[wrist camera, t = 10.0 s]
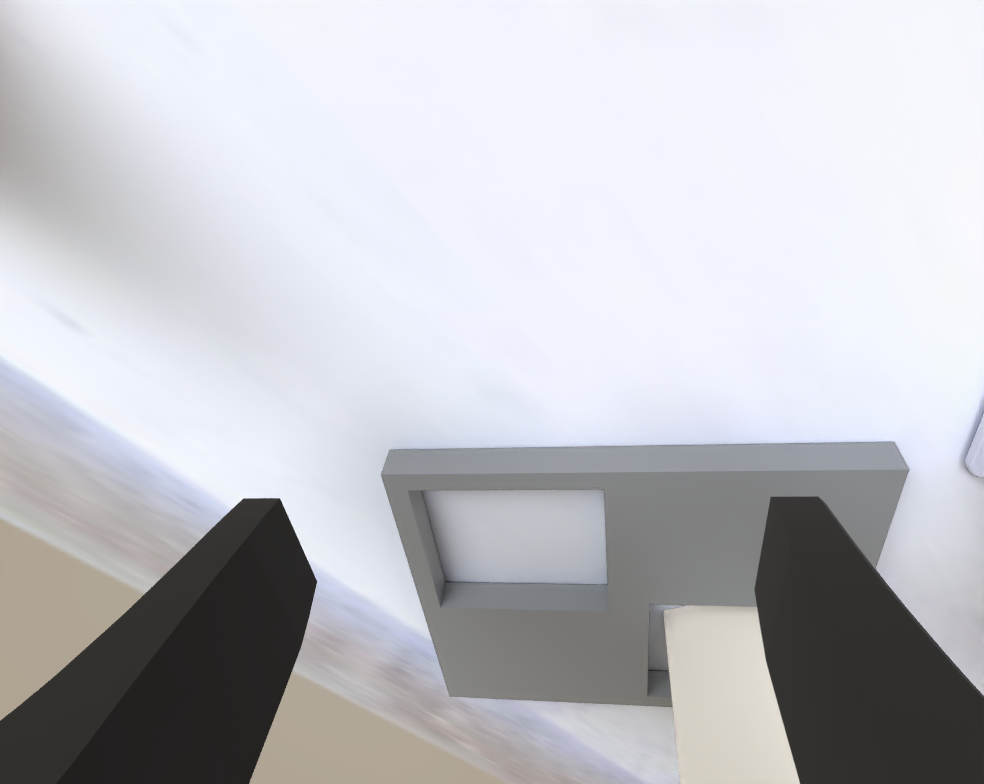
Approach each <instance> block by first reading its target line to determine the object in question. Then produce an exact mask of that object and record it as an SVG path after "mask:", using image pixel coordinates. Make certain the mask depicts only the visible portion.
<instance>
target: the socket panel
mask: <svg viewBox="0 0 984 784" xmlns="http://www.w3.org/2000/svg"><path fill="white" fill-rule="evenodd" d="M908 471H909V468H908V466H907V464H906V463H905V461H904V459H903V457H902V455H901V453H900V451H899V450H898V448H897V446H896V444H895V442H856V443H793V444H731V445H669V446H606V447H544V448H482V449H419V450H389V453H388V456H387V458H386V461H385V464H384V467H383V470H382V473H381V476H382V480H383V483H384V486H385V489H386V493H387V496H388V499H389V502H390V506H391V509H392V512H393V515H394V518H395V522H396V525H397V528H398V531H399V535H400V538H401V541H402V544H403V547H404V551H405V554H406V557H407V560H408V564H409V567H410V570H411V573H412V577H413V580H414V583H415V586H416V589H417V593H418V596H419V599H420V602H421V606H422V609H423V612H424V615H425V619H426V622H427V625H428V628H429V631H430V635H431V638H432V641H433V644H434V648H435V651H436V654H437V657H438V661H439V664H440V667H441V670H442V673H443V677H444V680H445V683H446V686H447V690H448V693H449V696H450V697H469V698H490V699H512V700H533V701H554V702H576V703H597V704H618V705H639V706H661V707H673V705H672V695H671V685H670V675H669V671H648V646H649V607H650V604H652V605H697V606H742V607H757V603H756V597H755V591H754V589H755V583H756V577H757V572H758V566H759V560H760V555H761V549H762V543H763V537H764V532H765V526H766V520H767V515H768V509H769V503H770V498H771V497H812V496H818V497H819V498H821V499H822V500H823V501H824V502H825V503H826V504H827V506H828V507H829V509H830V510H831V511H832V513H833V514H834V515H835V517H836V518H837V519H838V521H839V522H840V524H841V525H842V526H843V528H844V529H845V530H846V532H847V533H848V534H849V536H850V537H851V538H852V540H853V541H854V542H855V544H856V545H857V546H858V547H859V549H860V550H861V551H862V553H863V554H864V555H865V557H866V558H867V559H868V560H869V562H870V563H871V564H872V566H873V567H874V568H875V569H876V566H877V563H878V560H879V557H880V554H881V551H882V548H883V545H884V542H885V539H886V536H887V533H888V530H889V527H890V524H891V522H892V519H893V516H894V513H895V510H896V507H897V504H898V501H899V498H900V495H901V492H902V489H903V486H904V483H905V480H906V477H907V474H908ZM586 489H604V497H605V526H606V554H607V583H608V585H581V584H525V583H469V582H445V578H444V574H443V570H442V567H441V563H440V559H439V555H438V552H437V548H436V544H435V540H434V536H433V533H432V529H431V525H430V521H429V518H428V514H427V510H426V506H425V502H424V499H423V495H422V491H421V490H586Z"/></svg>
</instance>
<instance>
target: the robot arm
mask: <svg viewBox="0 0 984 784" xmlns="http://www.w3.org/2000/svg"><path fill="white" fill-rule="evenodd" d="M965 464H966V466H967V467H968V469H969V470H970V472H971V473H972V474H973V475H975V476H976V477H983V478H984V414H983V417H982V419H981V422H980V424H979V427H978V429H977V432H976V434H975V437H974V439H973V442H972V444H971V447H970V449H969V452H968V454H967V457H966V460H965ZM316 584H317V580H316V578H315V576H314V574H313V571H312V569H311V567H310V565H309V562H308V560H307V558H306V556H305V554H304V551H303V549H302V547H301V545H300V542H299V540H298V538H297V536H296V533H295V531H294V529H293V527H292V524H291V522H290V520H289V518H288V516H287V513H286V511H285V509H284V507H283V504H282V502H281V500H280V498H261V499H243V500H242V501H241V502H239V503H238V504H237V505H236V506H235V507H234V508H233V509H232V510H231V511H230V512H229V513H228V514H227V515H226V516H224V517H223V518H222V519H221V520H220V521H219V522H218V523H217V524H216V525H215V526H214V527H213V528H212V529H211V530H210V531H209V532H208V533H207V534H206V535H205V536H204V537H203V538H202V539H201V540H200V541H199V542H198V543H197V544H196V545H195V546H194V547H193V548H192V549H191V550H190V551H189V552H188V553H187V554H186V555H185V556H184V557H183V558H182V559H181V560H180V561H179V562H178V563H177V564H176V565H175V566H174V567H172V568H171V569H170V570H169V571H168V572H167V573H166V574H165V575H164V576H163V577H162V578H161V579H160V580H159V581H158V582H157V583H156V584H155V585H154V586H153V587H152V588H151V589H150V590H149V591H148V592H147V593H146V594H144V595H143V596H142V597H141V598H140V599H139V600H138V601H137V602H136V603H135V604H134V605H133V606H132V607H131V608H130V609H129V610H128V611H127V612H126V613H125V614H124V615H122V616H121V617H120V618H119V619H118V620H117V621H116V622H115V623H114V624H112V625H111V626H110V627H109V628H108V629H107V630H106V631H105V632H104V633H102V634H101V635H100V636H99V637H98V638H97V639H96V640H95V641H94V642H93V643H91V644H90V645H89V646H88V647H87V648H86V649H85V650H84V651H82V652H81V653H80V654H79V655H78V656H77V657H76V658H75V659H74V660H72V661H71V662H70V663H69V664H68V665H67V666H66V667H65V668H64V669H63V670H61V671H60V672H59V673H58V674H57V675H56V676H54V677H53V678H52V679H51V680H50V681H48V683H46V684H45V685H44V686H43V687H41V688H40V689H39V690H38V691H37V692H35V693H34V694H33V695H32V696H31V697H29V698H28V699H27V700H26V701H24V702H23V703H22V704H21V705H20V706H18V707H17V708H16V709H15V710H13V711H12V712H11V713H10V714H8V715H7V716H6V717H4V719H2V720H1V721H0V784H249V782H250V779H251V777H252V774H253V772H254V769H255V766H256V764H257V761H258V759H259V756H260V753H261V751H262V748H263V746H264V743H265V740H266V738H267V735H268V733H269V730H270V727H271V725H272V722H273V720H274V717H275V714H276V712H277V709H278V707H279V704H280V701H281V699H282V696H283V694H284V691H285V688H286V686H287V683H288V680H289V678H290V675H291V672H292V670H293V667H294V664H295V662H296V659H297V656H298V653H299V651H300V648H301V645H302V642H303V638H304V634H305V630H306V626H307V622H308V619H309V615H310V610H311V606H312V601H313V597H314V593H315V588H316ZM754 591H755V597H756V603H757V610H758V616H759V623H760V629H761V635H762V641H763V647H764V652H765V658H766V663H767V667H768V670H769V674H770V678H771V681H772V685H773V689H774V692H775V696H776V699H777V703H778V707H779V710H780V714H781V718H782V721H783V725H784V728H785V732H786V735H787V739H788V742H789V746H790V749H791V753H792V757H793V760H794V764H795V767H796V771H797V774H798V778H799V781H800V784H984V696H983V695H982V694H981V692H980V691H979V690H978V689H977V688H976V687H975V686H974V685H973V684H972V683H971V682H970V681H969V679H968V678H967V677H966V676H965V675H964V674H963V673H962V672H961V670H960V669H959V668H958V667H957V666H956V665H955V664H954V663H953V661H952V660H951V659H950V658H949V657H948V656H947V655H946V654H945V652H944V651H943V650H942V649H941V648H940V647H939V645H938V644H937V643H936V642H935V641H934V640H933V638H932V637H931V636H930V635H929V634H928V632H927V631H926V630H925V629H924V628H923V627H922V625H921V624H920V623H919V622H918V621H917V620H916V618H915V617H914V616H913V615H912V614H911V613H910V611H909V610H908V609H907V608H906V607H905V605H904V604H903V603H902V602H901V601H900V599H899V598H898V597H897V596H896V594H895V593H894V592H893V591H892V590H891V588H890V587H889V586H888V585H887V583H886V582H885V581H884V579H883V578H882V577H881V576H880V574H879V573H878V572H877V571H876V569H875V568H874V567H873V566H872V564H871V563H870V562H869V560H868V559H867V558H866V557H865V555H864V554H863V553H862V551H861V550H860V549H859V547H858V546H857V545H856V544H855V542H854V541H853V540H852V538H851V537H850V536H849V534H848V533H847V532H846V530H845V529H844V528H843V526H842V525H841V524H840V522H839V521H838V519H837V518H836V517H835V515H834V514H833V513H832V511H831V510H830V509H829V507H828V506H827V504H826V503H825V502H824V501H823V500H822V499H821V498H819V497H818V496H812V497H771V498H770V503H769V509H768V515H767V520H766V526H765V532H764V537H763V543H762V549H761V555H760V560H759V566H758V572H757V577H756V583H755V589H754Z"/></svg>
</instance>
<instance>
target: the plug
mask: <svg viewBox="0 0 984 784" xmlns="http://www.w3.org/2000/svg"><path fill="white" fill-rule="evenodd" d="M663 615H664V625H665V635H666V645H667V655H668V665H669V675H670V685H671V695H672V705H673V715H674V725H675V735H676V745H677V755H678V765H679V775H680V784H800V781H799V778H798V774H797V771H796V767H795V764H794V760H793V757H792V753H791V749H790V746H789V742H788V739H787V735H786V732H785V728H784V725H783V721H782V718H781V714H780V710H779V707H778V703H777V699H776V696H775V692H774V689H773V685H772V681H771V678H770V674H769V670H768V667H767V663H766V658H765V652H764V647H763V641H762V635H761V629H760V623H759V616H758V610H757V607H742V606H697V605H687V606H683V607H678V608H673V609H669V610H664V611H663Z"/></svg>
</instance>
